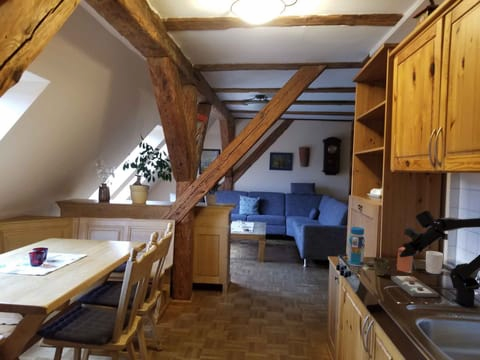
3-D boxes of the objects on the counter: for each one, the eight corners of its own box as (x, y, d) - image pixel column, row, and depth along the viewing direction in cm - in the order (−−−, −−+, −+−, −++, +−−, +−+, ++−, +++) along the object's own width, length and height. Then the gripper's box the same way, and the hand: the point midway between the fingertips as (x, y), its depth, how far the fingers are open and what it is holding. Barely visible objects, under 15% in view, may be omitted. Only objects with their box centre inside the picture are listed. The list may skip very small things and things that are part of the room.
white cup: (426, 268, 179) (427, 250, 178) (443, 271, 174) (444, 253, 174) (423, 271, 173) (424, 253, 172) (440, 275, 168) (442, 256, 167)
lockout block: (408, 272, 154) (409, 251, 153) (396, 269, 157) (397, 248, 157) (412, 270, 157) (413, 249, 157) (400, 267, 161) (402, 247, 160)
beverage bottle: (344, 262, 185) (346, 226, 184) (357, 261, 188) (359, 226, 186) (353, 267, 177) (355, 230, 176) (367, 266, 180) (369, 229, 178)
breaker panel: (438, 297, 141) (438, 291, 141) (412, 296, 141) (413, 290, 141) (413, 279, 161) (413, 274, 161) (390, 279, 161) (391, 274, 161)
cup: (385, 273, 169) (386, 257, 169) (390, 278, 162) (391, 262, 162) (370, 272, 170) (371, 256, 170) (374, 277, 163) (375, 261, 162)
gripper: (423, 220, 159) (398, 238, 168) (409, 224, 146) (382, 244, 155) (441, 239, 154) (414, 257, 163) (427, 246, 141) (399, 265, 150)
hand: (402, 255), depth 158 cm, fingers closed on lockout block, 5 cm apart
